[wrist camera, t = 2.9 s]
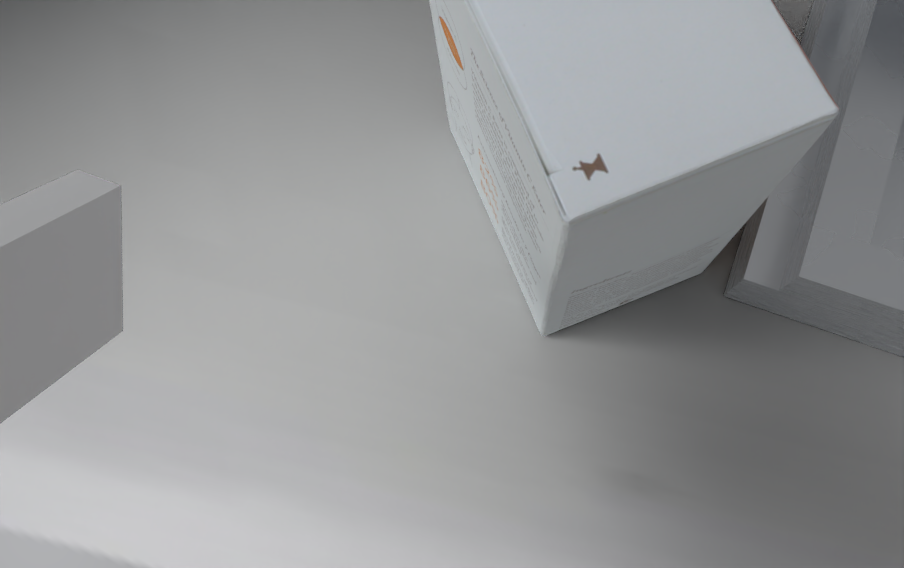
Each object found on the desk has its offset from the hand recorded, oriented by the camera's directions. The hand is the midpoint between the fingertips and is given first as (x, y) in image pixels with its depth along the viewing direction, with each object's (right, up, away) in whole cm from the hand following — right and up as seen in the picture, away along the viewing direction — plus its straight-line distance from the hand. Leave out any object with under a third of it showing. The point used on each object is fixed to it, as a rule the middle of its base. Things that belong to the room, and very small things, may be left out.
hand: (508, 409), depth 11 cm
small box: (+3, +5, +14) cm, 15 cm away
